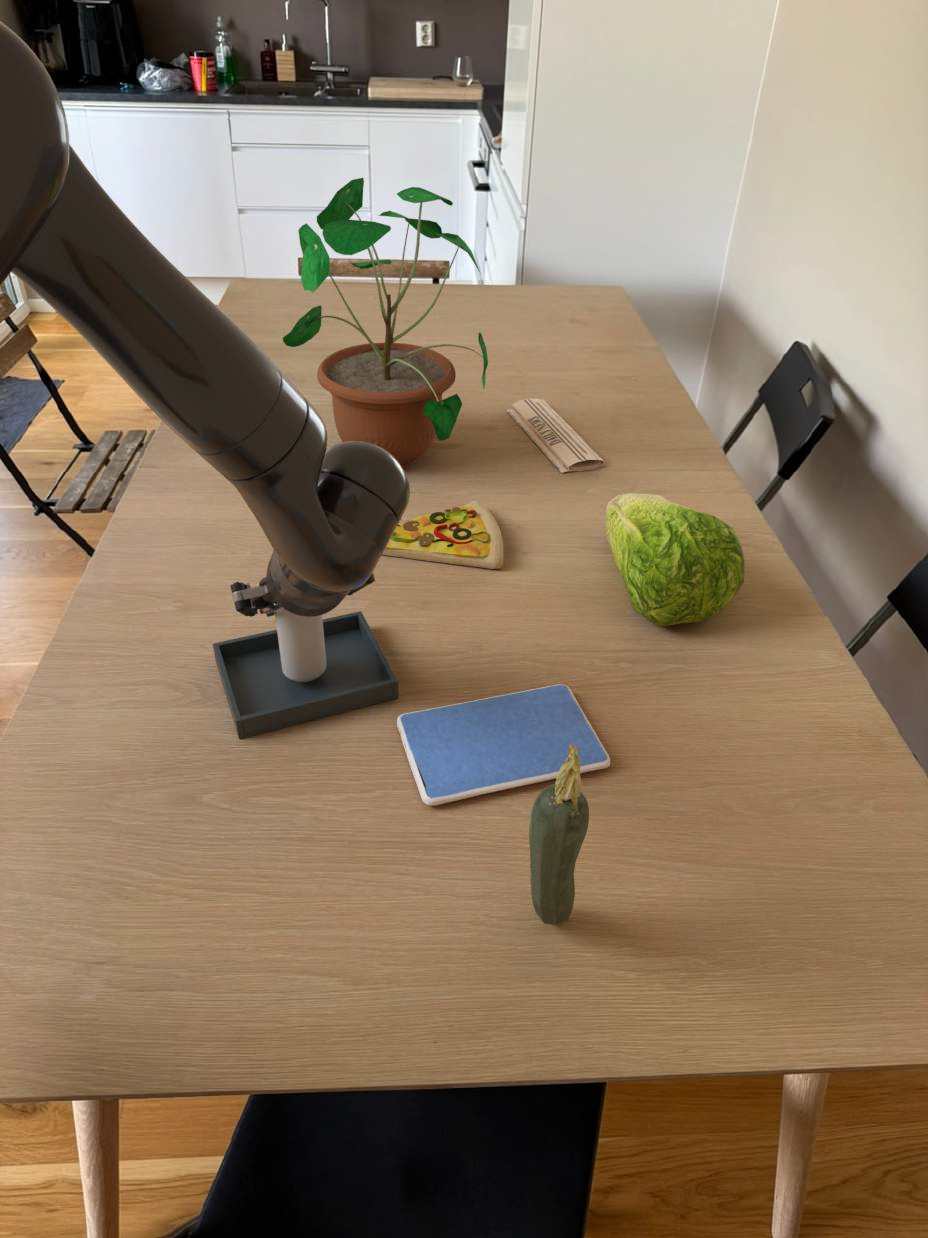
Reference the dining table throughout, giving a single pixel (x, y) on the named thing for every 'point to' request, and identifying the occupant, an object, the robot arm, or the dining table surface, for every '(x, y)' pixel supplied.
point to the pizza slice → (451, 538)
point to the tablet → (497, 743)
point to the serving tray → (281, 702)
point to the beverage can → (301, 646)
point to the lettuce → (673, 558)
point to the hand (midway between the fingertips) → (293, 601)
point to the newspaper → (554, 436)
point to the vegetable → (557, 842)
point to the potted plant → (380, 372)
